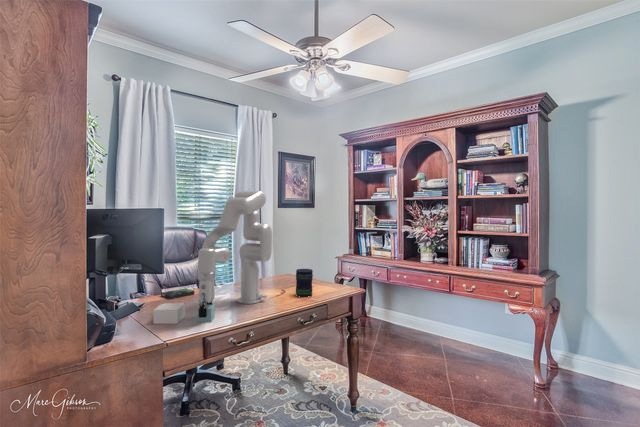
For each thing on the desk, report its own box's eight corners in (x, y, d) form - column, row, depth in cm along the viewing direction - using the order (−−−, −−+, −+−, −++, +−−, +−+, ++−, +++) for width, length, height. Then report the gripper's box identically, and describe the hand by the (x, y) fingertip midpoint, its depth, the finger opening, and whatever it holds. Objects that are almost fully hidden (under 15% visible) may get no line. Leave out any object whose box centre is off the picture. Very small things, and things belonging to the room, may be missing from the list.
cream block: (184, 316, 156) (185, 303, 155) (177, 323, 146) (177, 309, 146) (162, 316, 155) (162, 303, 155) (153, 323, 145) (153, 309, 145)
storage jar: (308, 298, 191) (308, 272, 191) (292, 296, 194) (293, 270, 194) (314, 294, 200) (315, 269, 200) (299, 292, 204) (300, 268, 204)
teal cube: (214, 317, 155) (214, 304, 154) (211, 322, 149) (211, 308, 148) (201, 317, 154) (201, 304, 154) (197, 322, 148) (197, 308, 148)
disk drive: (169, 300, 183) (194, 295, 195) (169, 295, 183) (194, 290, 195) (160, 297, 190) (185, 292, 201) (160, 292, 190) (185, 287, 201)
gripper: (210, 279, 143) (209, 320, 143) (219, 272, 160) (218, 308, 160) (192, 279, 142) (191, 320, 142) (203, 272, 159) (202, 308, 159)
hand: (205, 313), depth 151 cm, fingers open, 9 cm apart
